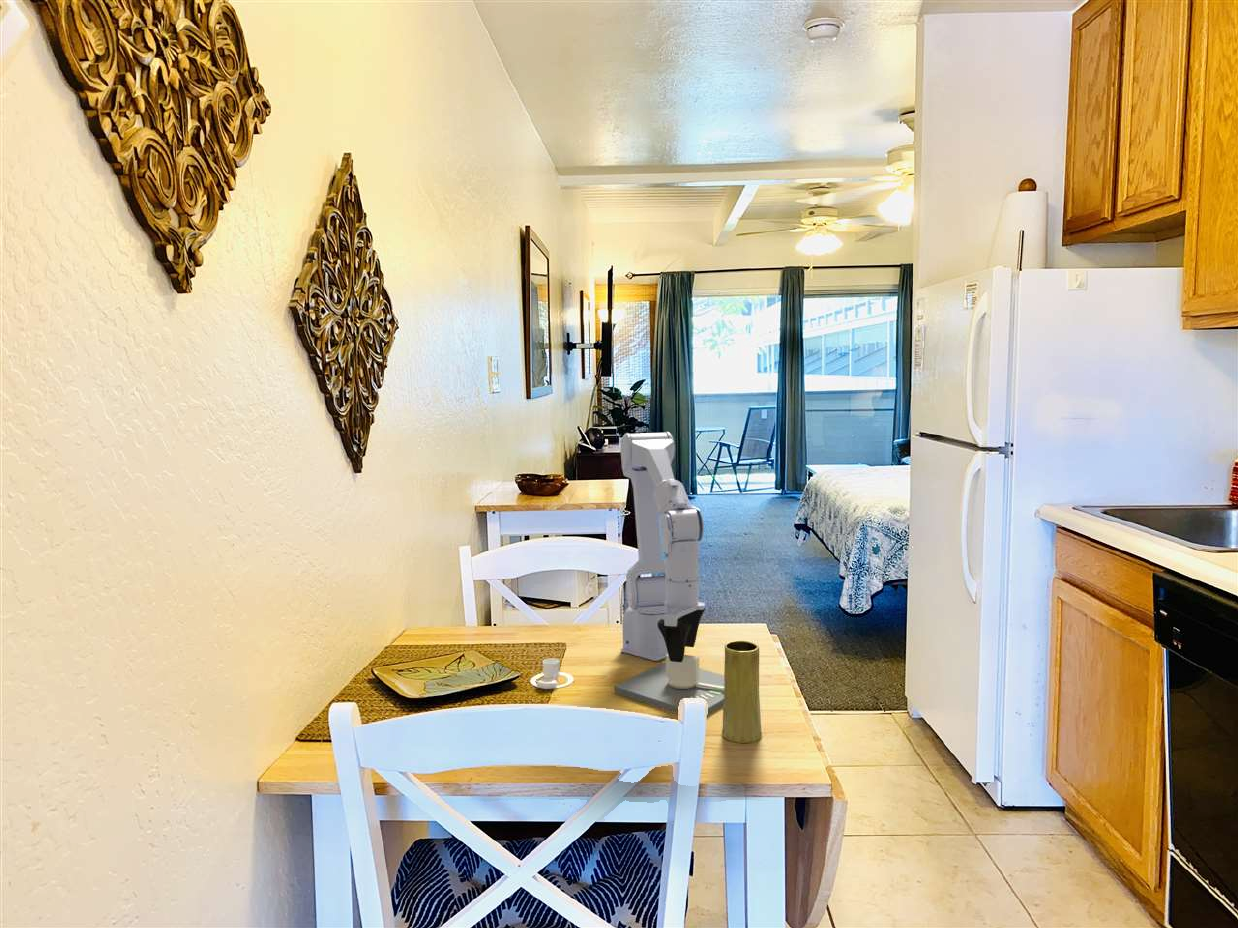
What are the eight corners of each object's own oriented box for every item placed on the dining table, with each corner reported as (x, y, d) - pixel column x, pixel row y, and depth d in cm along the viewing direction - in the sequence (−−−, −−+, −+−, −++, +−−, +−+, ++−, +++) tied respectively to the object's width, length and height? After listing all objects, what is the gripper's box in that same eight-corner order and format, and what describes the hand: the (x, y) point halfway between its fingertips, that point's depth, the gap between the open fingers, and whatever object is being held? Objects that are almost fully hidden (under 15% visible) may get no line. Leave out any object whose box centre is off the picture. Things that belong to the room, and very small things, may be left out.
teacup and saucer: (550, 696, 140) (549, 674, 140) (518, 686, 145) (517, 664, 144) (582, 680, 147) (582, 659, 146) (550, 671, 152) (549, 650, 151)
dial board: (614, 692, 140) (614, 685, 140) (669, 666, 152) (669, 659, 152) (698, 720, 128) (698, 712, 128) (750, 689, 140) (750, 682, 140)
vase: (752, 747, 119) (752, 655, 117) (715, 737, 122) (714, 648, 121) (767, 731, 124) (768, 643, 122) (731, 722, 127) (731, 636, 126)
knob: (662, 685, 139) (662, 658, 138) (673, 675, 144) (673, 649, 143) (721, 696, 134) (721, 667, 134) (730, 685, 139) (730, 657, 138)
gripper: (693, 591, 130) (693, 671, 131) (714, 569, 143) (714, 642, 145) (652, 587, 132) (653, 666, 134) (676, 566, 146) (677, 638, 147)
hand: (682, 653), depth 139 cm, fingers open, 7 cm apart
